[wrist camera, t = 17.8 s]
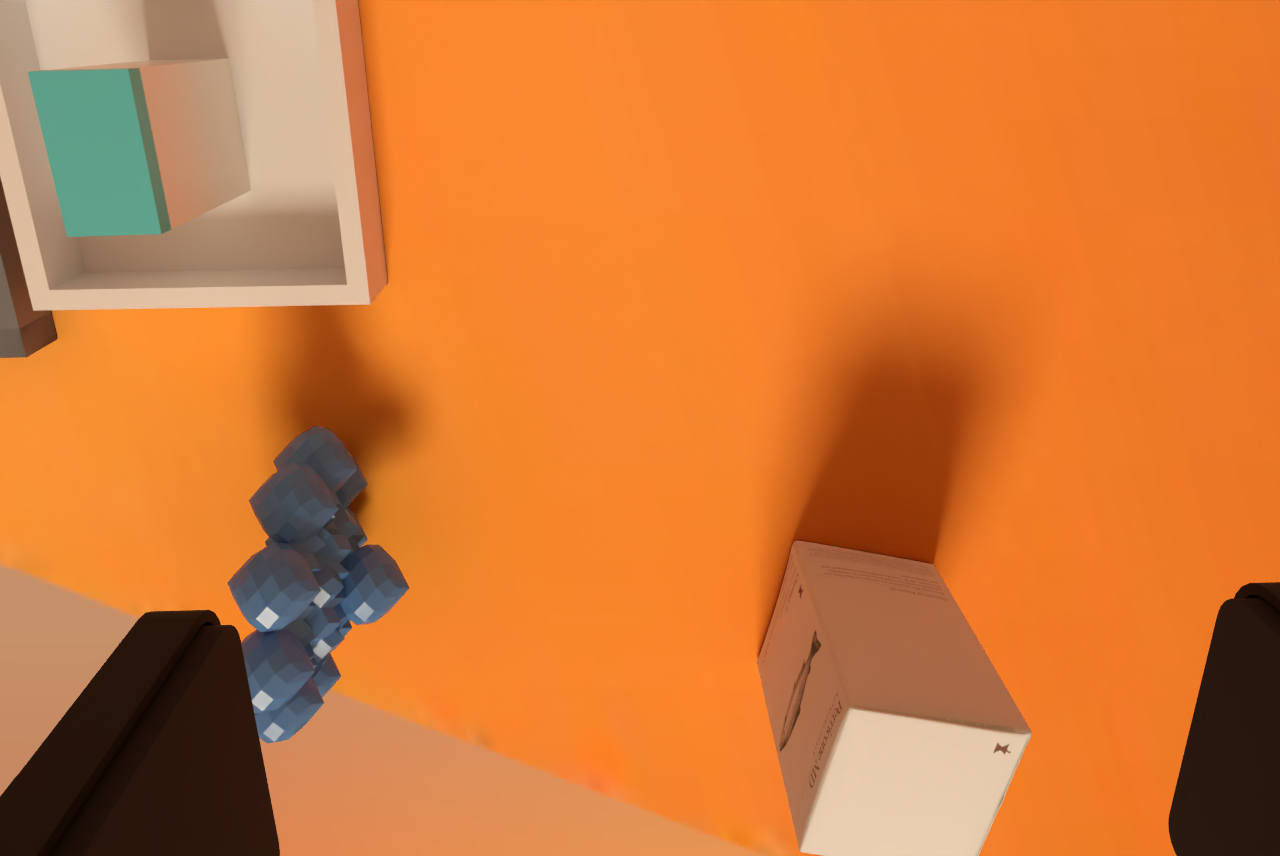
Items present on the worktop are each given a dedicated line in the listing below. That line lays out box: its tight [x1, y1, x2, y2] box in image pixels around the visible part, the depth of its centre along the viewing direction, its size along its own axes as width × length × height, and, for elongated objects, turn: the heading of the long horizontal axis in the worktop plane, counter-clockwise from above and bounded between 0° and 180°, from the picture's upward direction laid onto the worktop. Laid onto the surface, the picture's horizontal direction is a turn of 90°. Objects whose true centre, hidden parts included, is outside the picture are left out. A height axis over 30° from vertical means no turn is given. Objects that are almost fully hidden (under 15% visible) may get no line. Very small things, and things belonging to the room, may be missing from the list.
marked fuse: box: [28, 58, 251, 237], centre depth 35 cm, size 5×3×9 cm, turn 1°
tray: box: [0, 0, 388, 311], centre depth 38 cm, size 13×13×4 cm
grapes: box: [228, 426, 409, 743], centre depth 41 cm, size 12×7×12 cm, turn 173°
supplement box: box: [757, 541, 1032, 856], centre depth 44 cm, size 7×7×13 cm
